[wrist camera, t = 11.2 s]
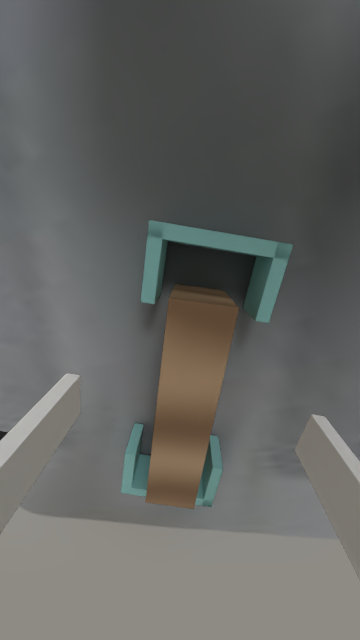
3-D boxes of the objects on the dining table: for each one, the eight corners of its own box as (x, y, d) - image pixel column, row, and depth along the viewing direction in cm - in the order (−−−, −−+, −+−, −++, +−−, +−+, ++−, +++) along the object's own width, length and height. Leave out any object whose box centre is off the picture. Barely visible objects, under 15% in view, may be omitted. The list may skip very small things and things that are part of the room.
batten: (175, 283, 15) (168, 298, 10) (223, 290, 15) (239, 308, 10) (155, 442, 20) (145, 502, 15) (192, 447, 20) (193, 509, 15)
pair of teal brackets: (157, 226, 14) (149, 220, 11) (271, 245, 14) (293, 244, 11) (130, 458, 20) (120, 492, 17) (208, 471, 20) (211, 507, 17)
